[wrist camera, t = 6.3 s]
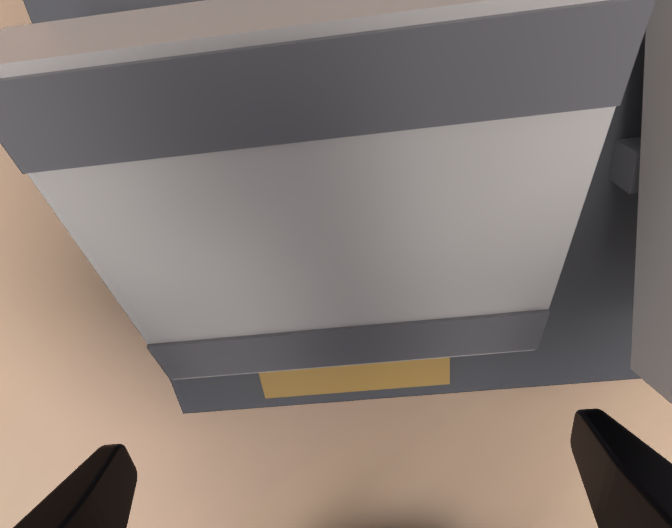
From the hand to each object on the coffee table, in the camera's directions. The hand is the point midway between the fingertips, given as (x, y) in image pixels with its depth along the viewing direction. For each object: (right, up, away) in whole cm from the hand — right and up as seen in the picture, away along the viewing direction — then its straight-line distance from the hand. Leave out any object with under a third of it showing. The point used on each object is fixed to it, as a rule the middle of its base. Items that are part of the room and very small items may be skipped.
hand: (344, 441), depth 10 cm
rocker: (0, +4, +1) cm, 4 cm away
